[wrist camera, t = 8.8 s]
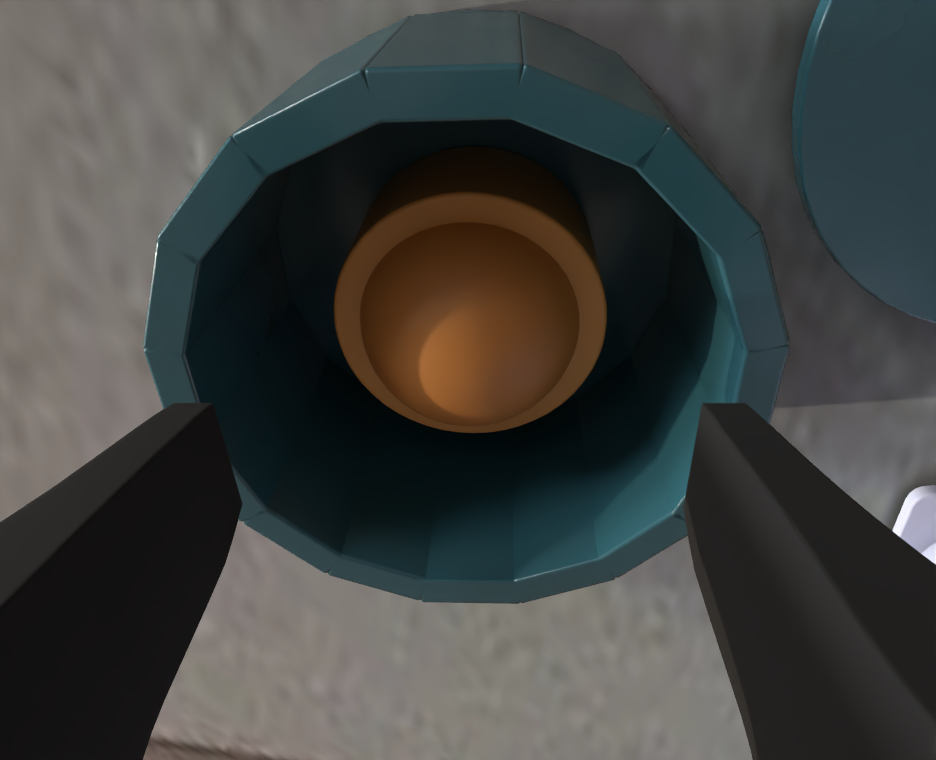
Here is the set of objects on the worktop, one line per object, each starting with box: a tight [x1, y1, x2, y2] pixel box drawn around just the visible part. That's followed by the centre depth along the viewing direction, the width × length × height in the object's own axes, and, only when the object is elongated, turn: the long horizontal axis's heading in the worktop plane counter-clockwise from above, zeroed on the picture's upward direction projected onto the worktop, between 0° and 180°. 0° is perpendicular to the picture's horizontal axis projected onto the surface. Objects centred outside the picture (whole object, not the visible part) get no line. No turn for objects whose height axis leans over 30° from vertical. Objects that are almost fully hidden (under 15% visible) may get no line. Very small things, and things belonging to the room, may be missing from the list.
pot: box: [143, 10, 789, 604], centre depth 14 cm, size 10×10×6 cm
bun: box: [333, 146, 607, 433], centre depth 14 cm, size 5×5×5 cm
